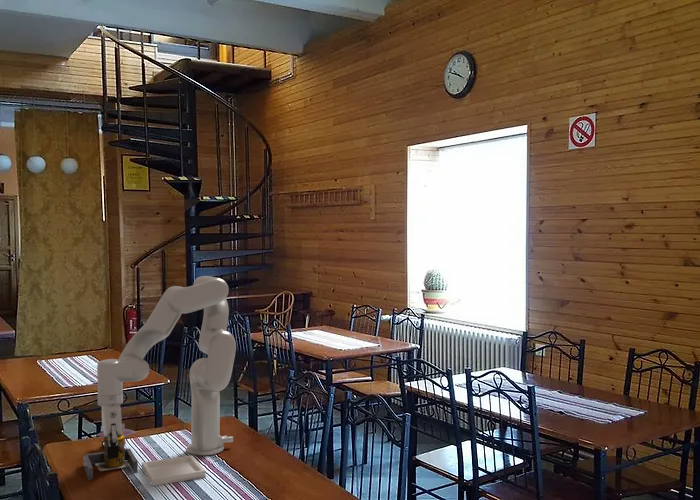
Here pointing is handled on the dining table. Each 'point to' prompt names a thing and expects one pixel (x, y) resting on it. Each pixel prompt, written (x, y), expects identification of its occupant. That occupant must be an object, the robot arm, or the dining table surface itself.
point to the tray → (173, 470)
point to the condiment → (113, 462)
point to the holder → (99, 458)
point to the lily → (125, 433)
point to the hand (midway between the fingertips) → (111, 454)
